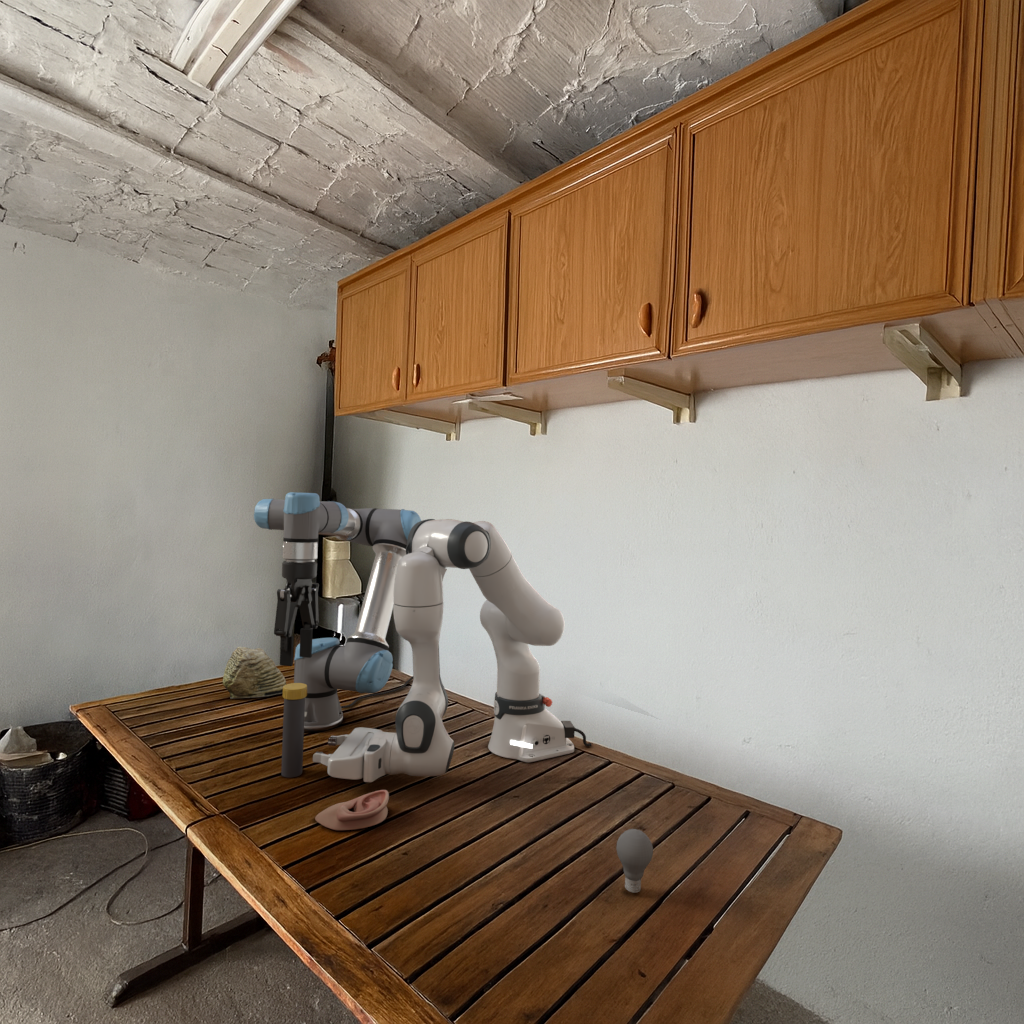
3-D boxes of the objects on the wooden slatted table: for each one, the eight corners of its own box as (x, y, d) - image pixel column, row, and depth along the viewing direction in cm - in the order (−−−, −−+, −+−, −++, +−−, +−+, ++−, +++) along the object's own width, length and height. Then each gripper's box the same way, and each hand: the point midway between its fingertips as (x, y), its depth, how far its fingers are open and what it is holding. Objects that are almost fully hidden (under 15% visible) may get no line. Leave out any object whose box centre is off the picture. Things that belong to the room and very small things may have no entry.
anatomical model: (307, 805, 121) (336, 780, 133) (306, 826, 121) (335, 798, 133) (372, 815, 119) (395, 788, 130) (371, 836, 119) (394, 807, 130)
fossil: (218, 695, 195) (220, 647, 195) (278, 685, 208) (279, 640, 207) (228, 703, 189) (230, 653, 188) (289, 692, 201) (290, 645, 201)
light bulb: (610, 879, 108) (613, 822, 108) (644, 879, 109) (647, 822, 109) (619, 902, 102) (622, 840, 102) (655, 901, 103) (658, 840, 103)
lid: (279, 699, 141) (279, 689, 141) (286, 692, 146) (286, 682, 146) (303, 700, 142) (304, 689, 141) (309, 692, 147) (309, 683, 147)
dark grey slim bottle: (278, 777, 142) (282, 690, 141) (284, 769, 146) (287, 684, 146) (299, 777, 142) (302, 691, 142) (304, 769, 147) (307, 685, 146)
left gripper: (308, 555, 154) (304, 649, 154) (258, 563, 134) (254, 670, 135) (336, 557, 152) (333, 652, 153) (289, 565, 133) (285, 674, 133)
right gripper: (393, 722, 153) (337, 718, 154) (369, 756, 133) (305, 752, 134) (392, 748, 153) (336, 744, 154) (368, 786, 133) (304, 781, 134)
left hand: (296, 660), depth 144 cm, fingers open, 7 cm apart
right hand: (321, 748), depth 144 cm, fingers open, 8 cm apart
